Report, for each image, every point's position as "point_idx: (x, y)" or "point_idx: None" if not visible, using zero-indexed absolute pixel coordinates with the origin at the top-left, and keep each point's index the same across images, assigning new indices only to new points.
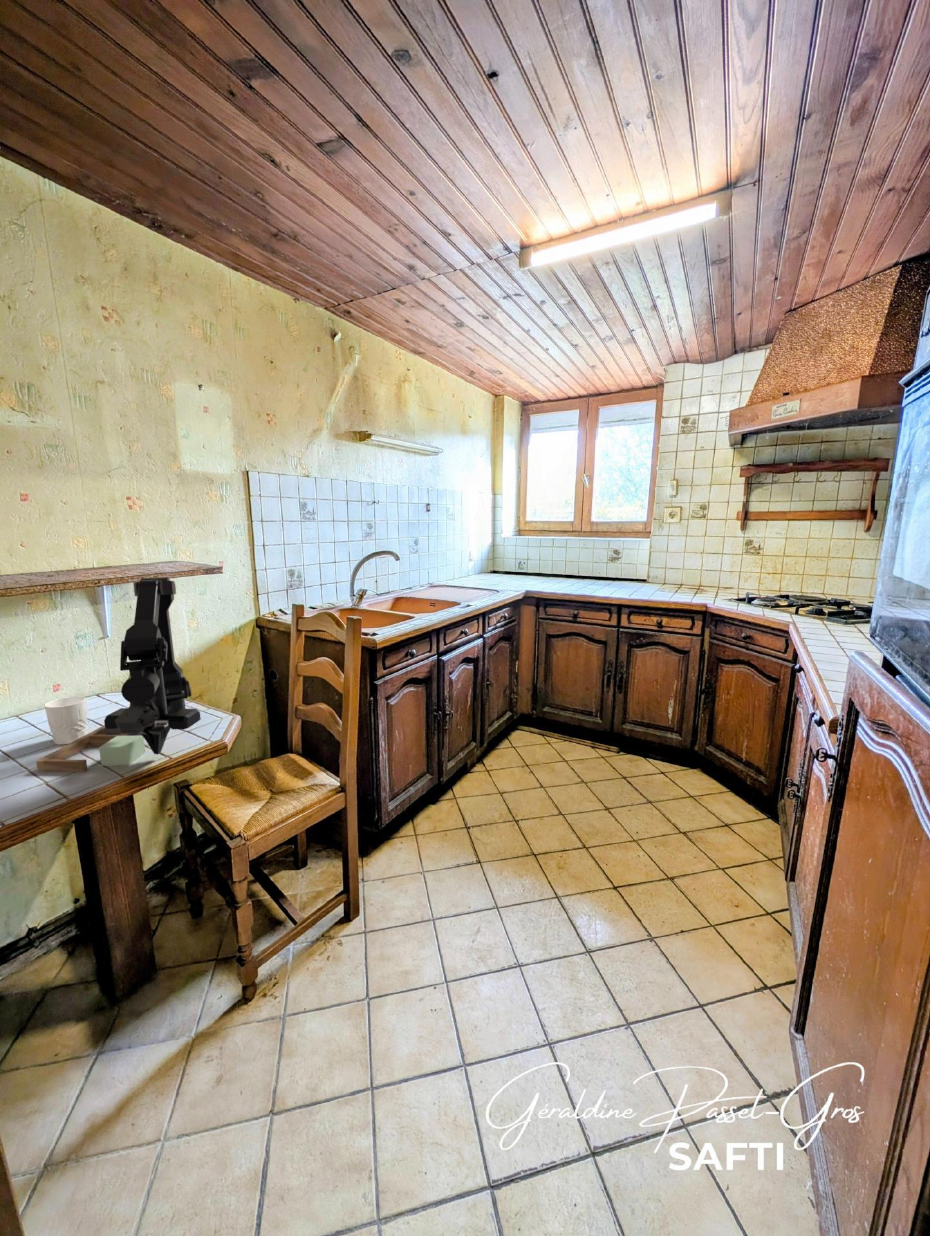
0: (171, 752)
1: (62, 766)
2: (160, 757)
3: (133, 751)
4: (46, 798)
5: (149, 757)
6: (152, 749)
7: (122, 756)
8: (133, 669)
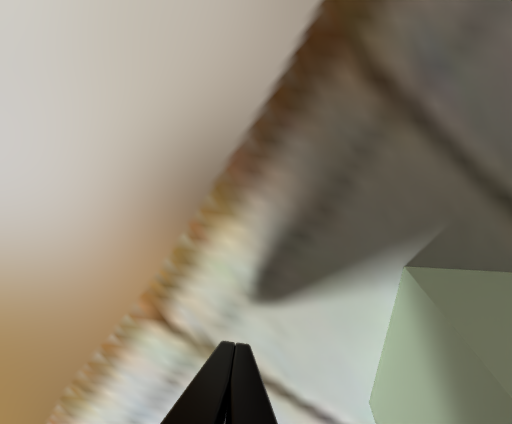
0: None
1: None
2: (239, 338)
3: (426, 380)
4: None
5: (312, 346)
6: (252, 378)
7: (495, 317)
8: None
